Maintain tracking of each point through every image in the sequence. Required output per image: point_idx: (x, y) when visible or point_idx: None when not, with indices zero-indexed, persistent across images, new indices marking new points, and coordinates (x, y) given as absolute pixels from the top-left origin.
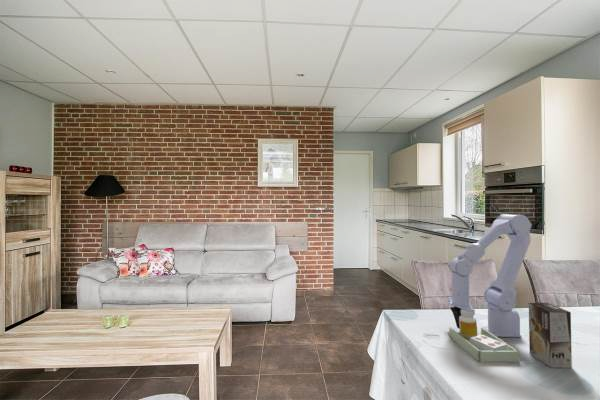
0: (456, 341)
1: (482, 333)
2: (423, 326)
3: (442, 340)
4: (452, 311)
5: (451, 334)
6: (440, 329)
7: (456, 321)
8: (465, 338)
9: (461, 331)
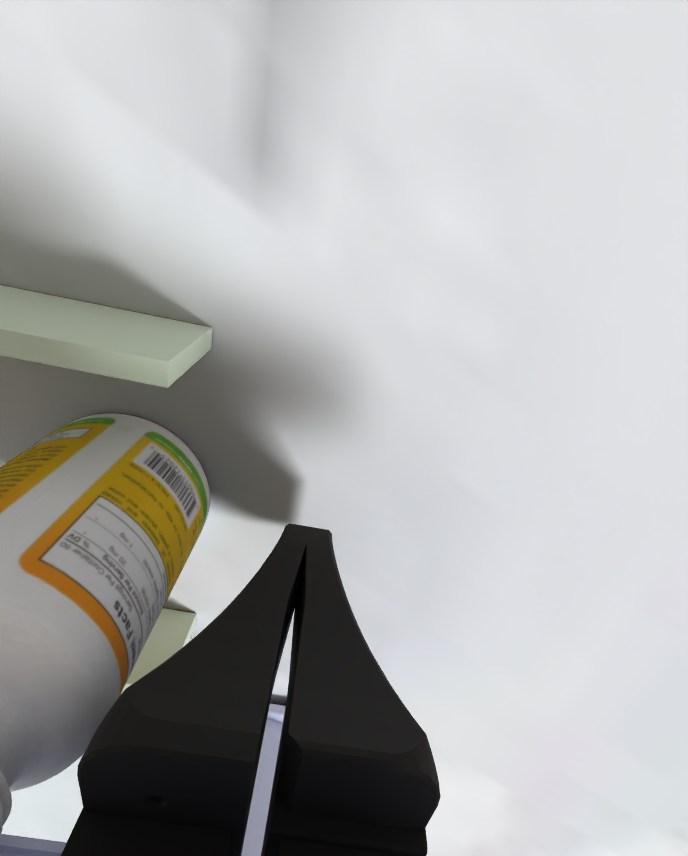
0: (26, 293)
1: (161, 639)
2: (617, 157)
3: (68, 116)
4: (367, 697)
5: (138, 327)
6: (429, 355)
7: (306, 575)
8: (58, 429)
9: (58, 449)
